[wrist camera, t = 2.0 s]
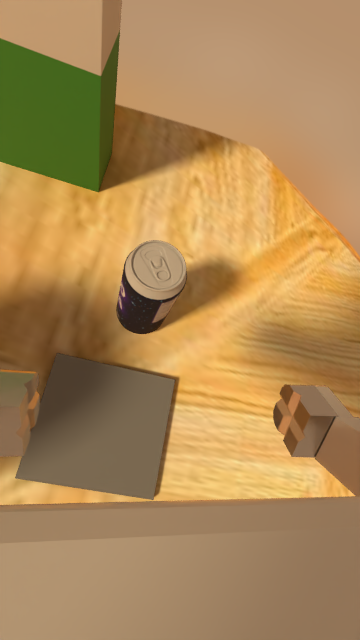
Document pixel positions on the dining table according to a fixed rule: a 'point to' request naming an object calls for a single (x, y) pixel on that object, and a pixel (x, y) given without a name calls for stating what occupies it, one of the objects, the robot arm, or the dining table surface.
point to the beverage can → (150, 285)
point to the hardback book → (59, 87)
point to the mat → (99, 428)
